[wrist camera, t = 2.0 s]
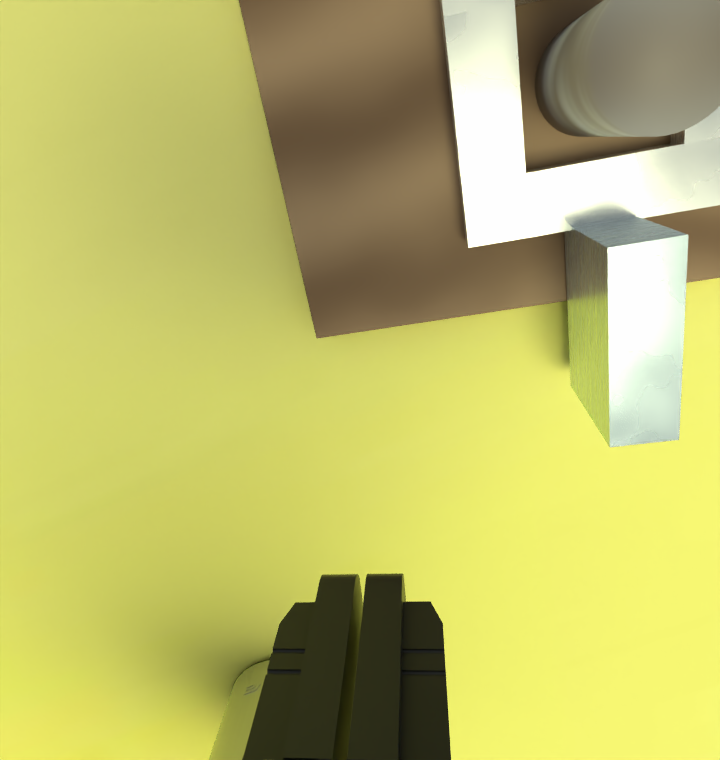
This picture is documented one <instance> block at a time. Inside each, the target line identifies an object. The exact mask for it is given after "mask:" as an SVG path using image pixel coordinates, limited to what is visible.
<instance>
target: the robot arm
mask: <svg viewBox="0 0 720 760" xmlns="http://www.w3.org/2000/svg"><path fill="white" fill-rule="evenodd" d="M209 760H451V753H450V736H449V720H448V703H447V687H446V671H445V654H444V638H443V623H442V621H441V620H440V618H439V616H438V614H437V613H436V611H435V609H434V607H433V605H432V604H431V602H406V596H405V585H404V576H403V574H367V577H366V584H365V593H364V603H363V602H362V594H361V586H360V579H359V575H358V574H346V575H322V576H321V579H320V582H319V587H318V592H317V596H316V601H315V602H310V603H295V604H294V605H293V607H292V608H291V609H290V611H289V612H288V613H287V615H286V616H285V617H284V619H283V620H282V621H281V623H280V624H279V628H278V632H277V635H276V639H275V643H274V646H273V653H272V654H271V657H270V660H267V661H263V662H260V663H257V664H255V665H253V666H251V667H250V668H248V669H246V670H245V671H244V672H243V673H242V674H241V675H240V676H239V677H238V678H237V680H236V682H235V684H234V685H233V688H232V691H231V694H230V698H229V701H228V704H227V707H226V710H225V713H224V716H223V719H222V722H221V725H220V728H219V731H218V734H217V737H216V740H215V743H214V746H213V749H212V752H211V755H210V758H209Z"/></svg>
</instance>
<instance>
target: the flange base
mask: <svg viewBox="0 0 720 760" xmlns="http://www.w3.org/2000/svg"><path fill="white" fill-rule="evenodd" d="M239 3H240V7H241V12H242V16H243V20H244V25H245V29H246V33H247V38H248V42H249V46H250V51H251V55H252V59H253V64H254V68H255V72H256V77H257V81H258V86H259V90H260V94H261V99H262V103H263V107H264V112H265V116H266V120H267V125H268V129H269V133H270V138H271V142H272V146H273V151H274V155H275V159H276V164H277V168H278V172H279V177H280V181H281V185H282V190H283V194H284V198H285V203H286V207H287V211H288V216H289V220H290V225H291V229H292V233H293V238H294V242H295V246H296V251H297V255H298V259H299V264H300V268H301V272H302V277H303V281H304V285H305V290H306V294H307V298H308V303H309V307H310V311H311V316H312V320H313V324H314V329H315V333H316V337H317V338H322V337H329V336H335V335H342V334H349V333H355V332H362V331H369V330H375V329H382V328H388V327H395V326H402V325H408V324H415V323H422V322H428V321H435V320H441V319H448V318H455V317H461V316H468V315H475V314H481V313H488V312H494V311H501V310H508V309H514V308H521V307H528V306H534V305H541V304H548V303H554V302H561V301H567V281H566V256H565V231H564V232H558V233H552V234H546V235H540V236H535V237H529V238H523V239H517V240H511V241H505V242H499V243H493V244H487V245H482V246H476V247H470V248H469V247H468V245H467V243H466V238H465V229H464V220H463V210H462V201H461V192H460V183H459V174H458V165H457V156H456V147H455V138H454V128H453V119H452V110H451V101H450V92H449V83H448V74H447V65H446V56H445V46H444V37H443V28H442V19H441V10H440V1H439V0H239ZM515 13H516V29H517V44H518V60H519V75H520V91H521V106H522V122H523V137H524V153H525V168H526V170H532V169H537V168H542V167H548V166H553V165H558V164H564V163H569V162H574V161H580V160H585V159H590V158H595V157H601V156H606V155H611V154H617V153H622V152H627V151H633V150H638V149H643V148H649V147H654V146H659V145H665V144H670V134H674V133H678V132H680V131H683V130H686V129H688V128H690V127H692V126H694V125H696V124H697V123H699V122H700V121H702V120H703V119H705V118H706V117H708V116H709V115H710V114H711V113H712V112H714V111H715V110H716V109H717V108H718V107H719V106H720V0H540V1H535V2H531V3H527V4H522V5H518V6H515ZM643 219H646V220H648V221H651V222H654V223H657V224H660V225H662V226H665V227H668V228H671V229H674V230H676V231H679V232H682V233H685V234H688V256H687V278H686V283H687V282H693V281H700V280H707V279H713V278H720V205H717V206H711V207H705V208H700V209H694V210H688V211H682V212H676V213H670V214H664V215H658V216H652V217H646V218H643Z"/></svg>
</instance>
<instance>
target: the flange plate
mask: <svg viewBox="0 0 720 760" xmlns="http://www.w3.org/2000/svg"><path fill="white" fill-rule="evenodd" d="M439 1H440V10H441V19H442V28H443V37H444V46H445V56H446V65H447V74H448V83H449V92H450V101H451V110H452V119H453V128H454V138H455V147H456V156H457V165H458V174H459V183H460V192H461V201H462V210H463V220H464V229H465V238H466V243H467V245H468V247H469V248H470V247H476V246H482V245H487V244H493V243H499V242H505V241H511V240H517V239H523V238H529V237H535V236H540V235H546V234H552V233H558V232H564V231H565V256H566V281H567V305H568V330H569V355H570V380H571V387H572V388H573V390H574V392H575V393H576V395H577V396H578V398H579V400H580V401H581V403H582V404H583V406H584V407H585V409H586V411H587V412H588V414H589V415H590V417H591V418H592V420H593V422H594V423H595V425H596V426H597V428H598V429H599V431H600V433H601V434H602V436H603V437H604V439H605V441H606V442H607V444H608V445H609V447H616V446H625V445H635V444H644V443H653V442H662V441H671V440H679V429H680V407H681V386H682V364H683V343H684V321H685V300H686V278H687V256H688V234H685V233H682V232H679V231H676V230H674V229H671V228H668V227H665V226H662V225H660V224H657V223H654V222H651V221H648V220H646V219H643V218H646V217H652V216H658V215H664V214H670V213H676V212H682V211H688V210H694V209H700V208H705V207H711V206H717V205H720V106H719V107H718V108H717V109H716V110H715V111H714V112H712V113H711V114H710V115H709V116H708V117H706V118H705V119H703V120H702V121H700V122H699V123H697V124H696V125H694V126H692V127H690V128H688V129H686V130H683V131H680V132H678V133H674V134H670V144H665V145H659V146H654V147H649V148H643V149H638V150H633V151H627V152H622V153H617V154H611V155H606V156H601V157H595V158H590V159H585V160H580V161H574V162H569V163H564V164H558V165H553V166H548V167H542V168H537V169H532V170H526V168H525V153H524V137H523V122H522V106H521V91H520V75H519V60H518V44H517V29H516V13H515V6H518V5H522V4H527V3H531V2H535V1H540V0H439Z"/></svg>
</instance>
